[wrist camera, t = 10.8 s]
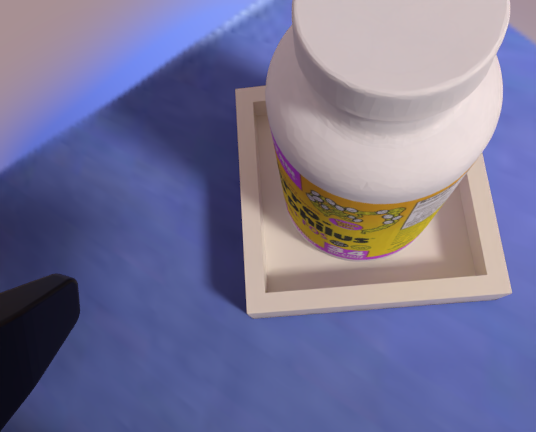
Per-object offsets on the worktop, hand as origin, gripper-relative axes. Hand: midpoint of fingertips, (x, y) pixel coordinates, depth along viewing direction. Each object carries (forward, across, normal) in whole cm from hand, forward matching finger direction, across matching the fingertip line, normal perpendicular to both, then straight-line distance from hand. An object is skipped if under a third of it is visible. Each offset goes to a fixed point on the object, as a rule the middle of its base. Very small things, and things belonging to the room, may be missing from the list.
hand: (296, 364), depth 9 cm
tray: (+15, 0, +4) cm, 15 cm away
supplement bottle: (+15, 0, +4) cm, 15 cm away
